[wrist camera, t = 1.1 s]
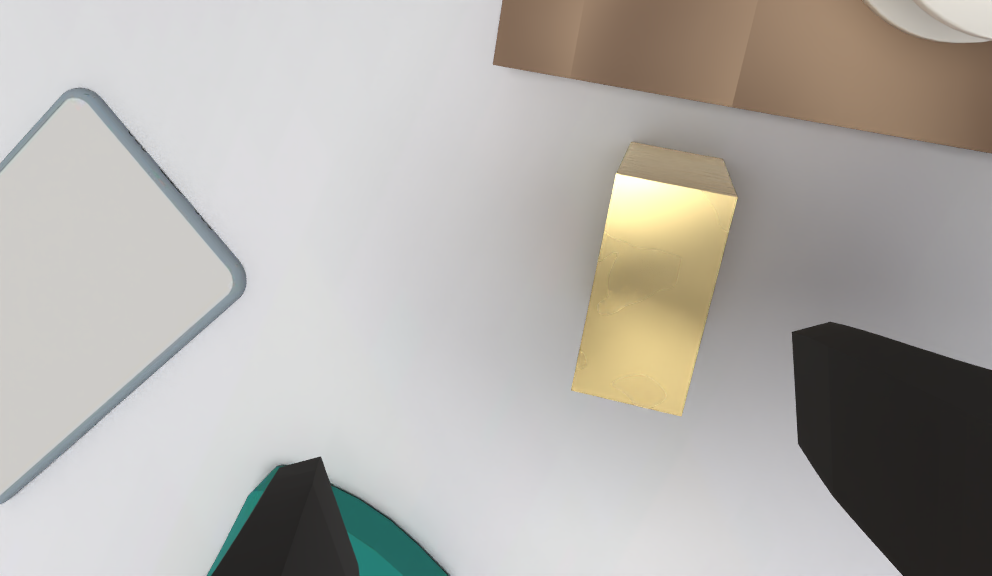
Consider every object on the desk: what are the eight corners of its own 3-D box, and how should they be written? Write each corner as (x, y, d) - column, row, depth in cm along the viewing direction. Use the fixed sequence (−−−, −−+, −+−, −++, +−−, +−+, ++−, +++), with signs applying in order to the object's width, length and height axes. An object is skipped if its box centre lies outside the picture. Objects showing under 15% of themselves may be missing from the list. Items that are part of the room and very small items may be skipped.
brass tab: (722, 158, 22) (737, 197, 17) (680, 328, 24) (681, 416, 18) (631, 141, 23) (616, 173, 17) (595, 310, 24) (571, 390, 19)
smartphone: (251, 285, 26) (-13, 517, 31) (266, 277, 27) (7, 503, 32) (73, 75, 25) (-170, 345, 30) (94, 74, 26) (-145, 337, 31)
